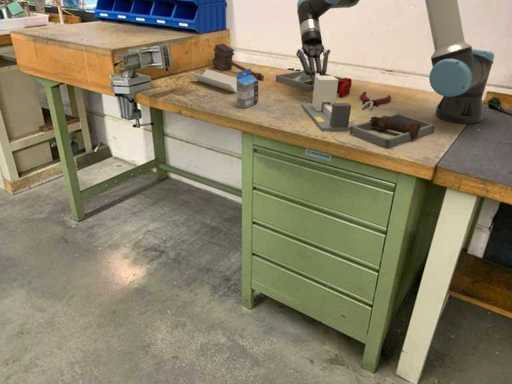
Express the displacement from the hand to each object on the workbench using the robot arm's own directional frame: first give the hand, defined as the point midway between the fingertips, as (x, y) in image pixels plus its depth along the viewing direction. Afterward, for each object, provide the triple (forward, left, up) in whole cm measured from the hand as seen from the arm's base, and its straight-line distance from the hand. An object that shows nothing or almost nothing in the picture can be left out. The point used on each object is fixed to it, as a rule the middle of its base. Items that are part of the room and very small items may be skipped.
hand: (318, 91), depth 151 cm
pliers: (-8, -20, -6) cm, 22 cm away
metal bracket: (+27, -22, -6) cm, 36 cm away
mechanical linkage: (+8, -22, -6) cm, 24 cm away
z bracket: (+42, +15, -6) cm, 45 cm away
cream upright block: (-6, +3, -4) cm, 8 cm away
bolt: (-33, 0, -6) cm, 34 cm away
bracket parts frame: (+26, -22, -6) cm, 34 cm away
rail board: (-11, +6, -6) cm, 14 cm away
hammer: (+56, -5, -6) cm, 56 cm away
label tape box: (+15, +21, -6) cm, 26 cm away
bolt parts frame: (-33, 0, -6) cm, 34 cm away
